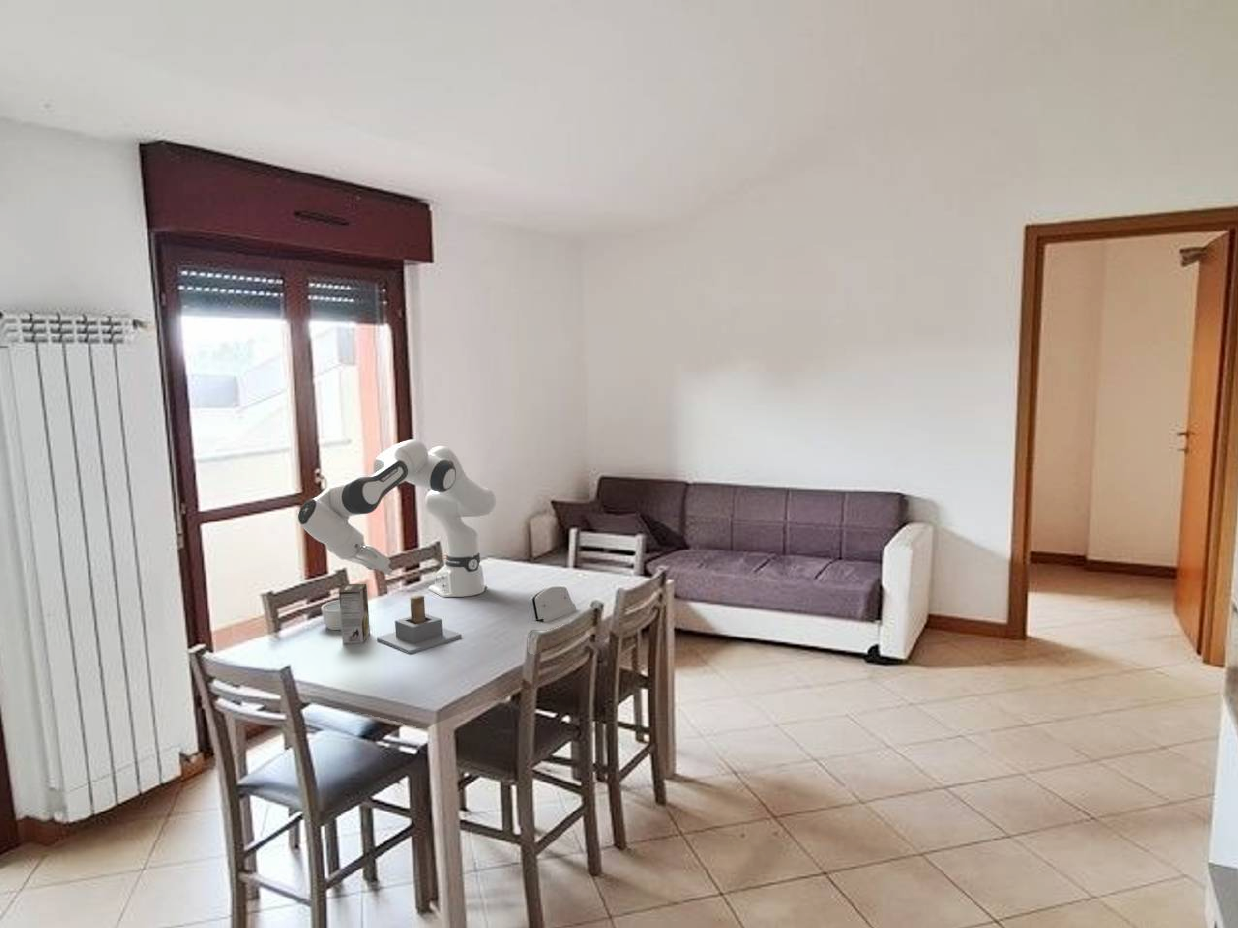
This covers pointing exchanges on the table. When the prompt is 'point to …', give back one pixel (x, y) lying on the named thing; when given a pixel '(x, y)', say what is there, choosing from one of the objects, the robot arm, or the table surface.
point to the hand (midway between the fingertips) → (381, 570)
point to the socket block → (418, 634)
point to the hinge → (551, 604)
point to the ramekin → (332, 615)
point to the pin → (417, 609)
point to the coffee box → (354, 613)
